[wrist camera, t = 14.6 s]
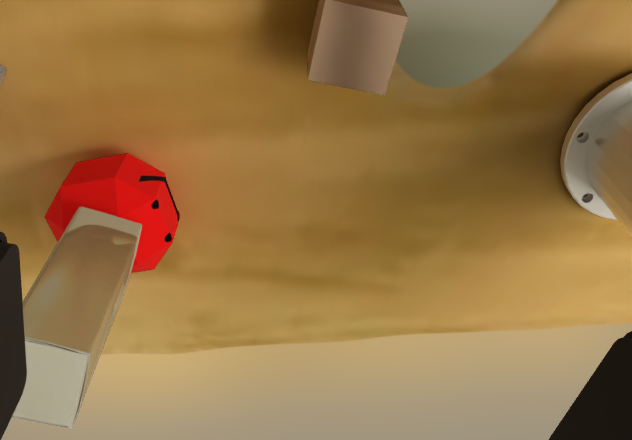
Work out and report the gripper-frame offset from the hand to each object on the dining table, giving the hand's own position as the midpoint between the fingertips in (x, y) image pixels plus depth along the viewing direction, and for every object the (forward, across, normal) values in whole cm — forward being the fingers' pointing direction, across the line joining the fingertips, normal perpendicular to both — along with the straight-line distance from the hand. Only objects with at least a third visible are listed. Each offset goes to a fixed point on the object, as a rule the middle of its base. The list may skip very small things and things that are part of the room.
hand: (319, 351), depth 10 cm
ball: (+35, +10, +20) cm, 41 cm away
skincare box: (+27, +10, +20) cm, 35 cm away
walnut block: (+34, -4, +4) cm, 35 cm away
